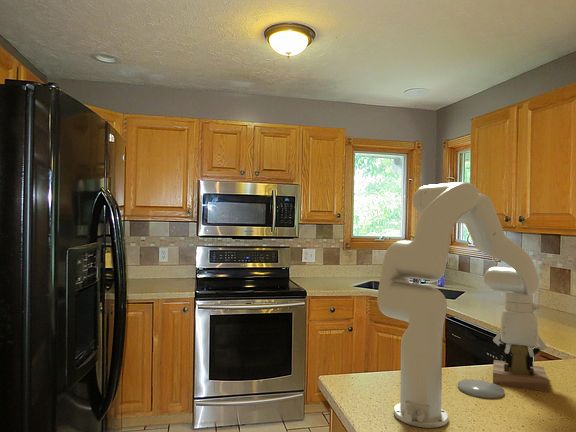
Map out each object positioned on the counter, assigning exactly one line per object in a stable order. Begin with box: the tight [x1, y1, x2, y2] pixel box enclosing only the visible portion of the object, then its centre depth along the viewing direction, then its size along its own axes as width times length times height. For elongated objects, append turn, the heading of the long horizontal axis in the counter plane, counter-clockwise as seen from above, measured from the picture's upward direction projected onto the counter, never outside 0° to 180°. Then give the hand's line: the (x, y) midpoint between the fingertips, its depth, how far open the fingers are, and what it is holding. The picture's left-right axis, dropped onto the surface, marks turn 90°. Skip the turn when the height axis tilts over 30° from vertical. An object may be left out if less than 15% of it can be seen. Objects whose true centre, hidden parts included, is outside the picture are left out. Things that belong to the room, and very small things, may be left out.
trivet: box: [457, 378, 505, 400], centre depth 120 cm, size 12×12×1 cm
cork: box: [509, 345, 529, 375], centre depth 128 cm, size 6×6×11 cm
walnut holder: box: [492, 359, 549, 393], centre depth 128 cm, size 14×14×3 cm
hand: (518, 366), depth 128 cm, fingers closed on cork, 4 cm apart
